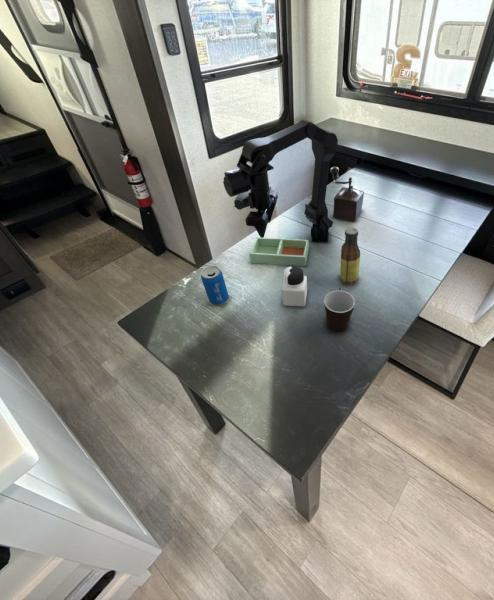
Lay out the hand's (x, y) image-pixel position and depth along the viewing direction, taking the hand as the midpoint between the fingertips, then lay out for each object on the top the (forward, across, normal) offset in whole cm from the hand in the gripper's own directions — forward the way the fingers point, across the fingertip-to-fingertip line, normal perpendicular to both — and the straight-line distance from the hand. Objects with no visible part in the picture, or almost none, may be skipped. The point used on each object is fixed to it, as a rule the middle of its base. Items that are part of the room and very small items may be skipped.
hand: (265, 229), depth 107 cm
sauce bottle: (+14, +7, +30) cm, 33 cm away
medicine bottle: (+14, +18, +13) cm, 26 cm away
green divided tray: (+13, -4, +3) cm, 14 cm away
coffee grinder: (+14, -37, +25) cm, 47 cm away
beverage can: (+14, +22, -12) cm, 28 cm away
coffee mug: (+14, +26, +28) cm, 41 cm away
